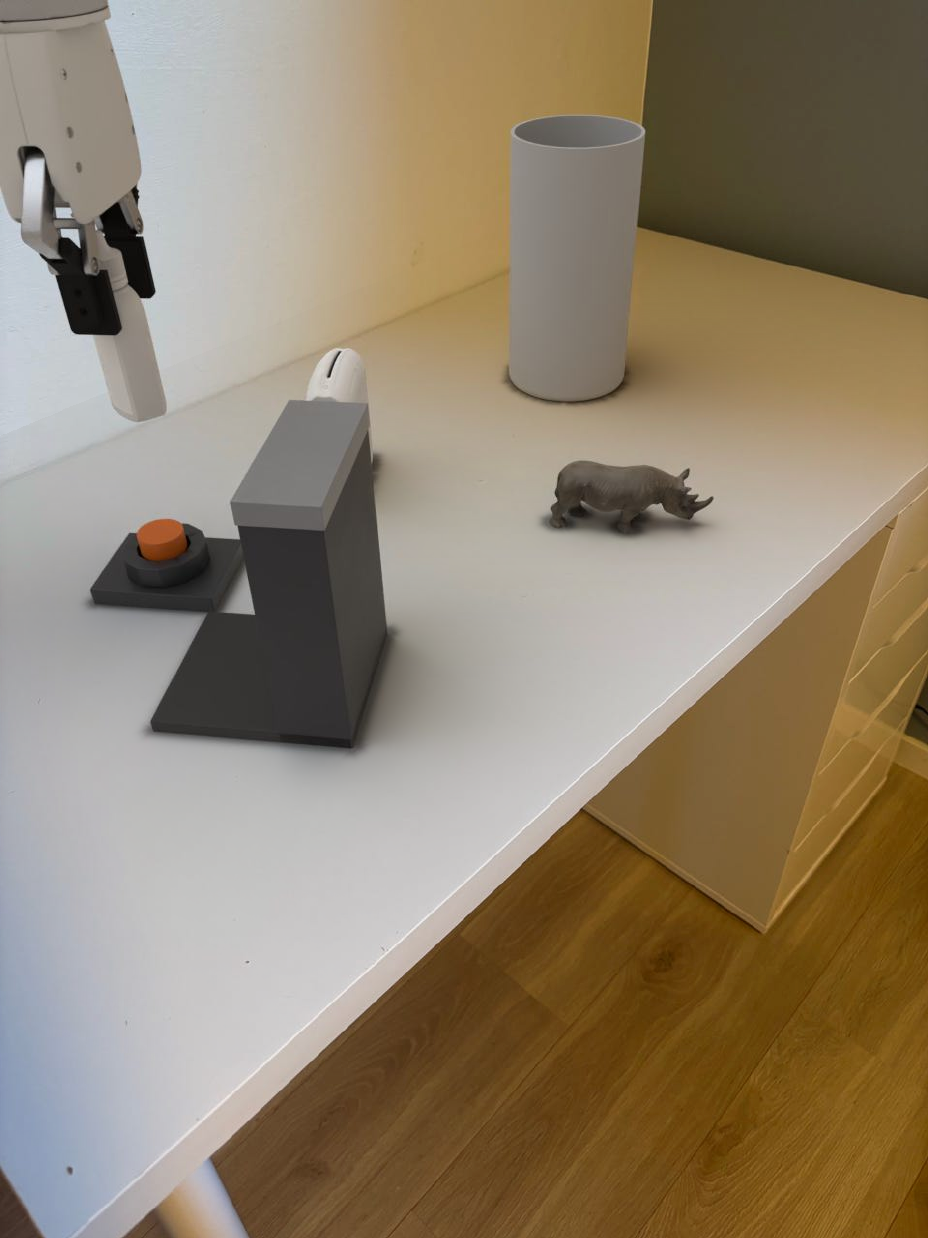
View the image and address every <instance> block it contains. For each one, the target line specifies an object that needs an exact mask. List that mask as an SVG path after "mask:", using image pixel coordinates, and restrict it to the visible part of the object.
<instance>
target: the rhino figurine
mask: <svg viewBox="0 0 928 1238" xmlns="http://www.w3.org/2000/svg"><path fill="white" fill-rule="evenodd" d="M690 472H691V469H690V467H688V468H686V469H684V470H683V471H682V472H681V473H680V474H679V475H678V476H674V475H673V474H670V473H669V472H667V471H665V470H662V469H661V468H658V467H655V466H652V465H647V464H639V465H628V466H619V465H618V466H617V465H610V464H609V465H608V464H603V463H600V462H596V461H592V460H583V459H581V460H575V461H572V462H570V463H568V464H567V465H565V466H564V467H563V468H562V469H561V470H560V471H559V472H558V473H557V477H556V487H555V489H554V492H553V493H554V496H555V498H556V502H554V503H553V504H551V505H550V508H549V510H550V511H551V518H549V520H548V524H549V525H550V526H551V527H553V528H554V529H561V528H566V527H568V524H567V520H566V519H565V517H564V516H563V515H564V514H565V513H566V512H567V514H568V515H570V516H575V517H576V516H577V517H582V516H585V515H586V513H587V512H588V511H587V509H586V508H585V507H583V506H582V503H581V502H583V503H585V504H586V505H588V506H589V507H591V508H593V509H594V510H596V511H598V512H602V513H611V512H615V511H621V513H620V515H619V521H618V523H616V528H617V530H618V531H619V532H620V533H621V534H623V535H628V534H633V533H634V532H635V528H633V525H632V524H631V521H635V522H636V521H640V520H642V519H643V518H642V517H643V513H642V512H644V511H645V510H647V509H648V508H649V507H651V506H652V505H656V506H657V505H660V504H661V505H662V507H663V508H662V509H663V510H664V511H665V512H666V513H667V514H669V515H672V516H675V517H678V518H680V519H683V520H687V521H690V520H692V519H693V518H694V515H695V514H696V513H698V512H700V511H701V510H703V509H705V508H706V507H708V506H709V505H711V503H712V502H713V501H714V499H715V498H714V497H715V496H713V495H712V496H710V497H709V498H707V499H705V500H699V501H698V500H697V499H698V498H699V496H700V494H698V493H695V494H688V493H689V492H691V491H692V487H689V486H686V485H685V480H687V479H688V478H689V476H690ZM696 500H697V501H696Z"/></svg>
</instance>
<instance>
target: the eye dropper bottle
mask: <svg viewBox="0 0 928 1238" xmlns="http://www.w3.org/2000/svg"><path fill="white" fill-rule="evenodd" d="M104 236H105V235H104V234H102V231H101V230H97V229H96V238H97V246H98V255H99V263H100V270H108V274H109V278H110V282H111V286H112V290H113V294H114V298H115V302H116V306H117V309H118V313H119V317H120V321H121V325H122V330H121V331H120V332H119V333H118V334H117V335H92V337H93V341H94V345H95V347H96V352H97V355H98V359H99V363H100V367H101V371H102V374H103V377H104V381H105V384H106V388H107V392H108V395H109V399H110V402H111V406H112V407H113V409H114V411H115V412H116V414H118V415H119V416H121V417H122V418H124V419H126V420H127V421H131V422H133V423H142V422H146V421H150V420H153V419H156V418H157V419H158V418H159V417H163V416H165V414H166V413H167V408H168V404H167V398H166V394H165V390H164V386H163V381H162V377H161V372H160V369H159V365H158V360H157V356H156V352H155V348H154V342H153V338H152V336H151V330H150V326H149V322H148V318H147V314H146V310H145V307H144V304H143V303H144V302H143V301H142V298H140V297H139V296H138V294H137V293H136V292H135V291H134V289H133V288H131V287H130V286H129V285H128V284H127V283H128V279H127V275H126V271H125V267H124V263H123V259H122V254H121V252H120V251H119V250H118V249H115V248H111V247H109V246H108V244H107V243H106V240H105V238H104Z"/></svg>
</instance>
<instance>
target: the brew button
mask: <svg viewBox="0 0 928 1238" xmlns="http://www.w3.org/2000/svg"><path fill="white" fill-rule="evenodd" d="M136 533H137V539H138V542H139V546H140V550H141V553H142V555H143V557H144V558H145V559H147V560H150V561H164V560H168V559H172V558H176V557H177V556H179V555H181V554H182V553H184V552H185V551H186V549H187V541H186V537H185V533H184V529H183V526H182V524H181V522H180V521H178V520H176V519H172V518H160V519H155V520H152V521H149V522H146V523H145V524H143V525H142V526H141V527H139V529H138V530H137V532H136Z"/></svg>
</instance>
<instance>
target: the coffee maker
mask: <svg viewBox="0 0 928 1238" xmlns="http://www.w3.org/2000/svg"><path fill="white" fill-rule="evenodd" d="M369 412H370V408H369V409H368V403H350V402H327V401H306V399H305V400H304V399H303V400H301V399H289V400H288V402H287V403H286V405H285V406H284V408H283V410H282V411H281V414H280V415H279V416H278V419H277V420H276V421H275V424H274V426H273V427H272V429H271V430H270V431H269V434H268V436H267V437H266V439H265V441H264V442H263V444H262V446H261V447H260V449H259V451H258V453H257V455H256V456H255V458H254V459H253V461H252V463H251V465H250V467H249V468H248V469H247V472H246V473H245V475H244V477H243V478H242V480H241V481H240V483H239V485H238V487H237V489H236V490H235V492H234V493H233V495H232V497H231V499H230V501H229V504H230V505H229V506H230V510H231V514H232V520H233V524H234V526H236V527H237V531H238V537H239V539H240V542H241V547H242V552H243V557H244V558H243V562H244V566H245V571H246V576H247V582H248V586H249V591H250V597H251V601H252V602H251V603H252V607H253V611H254V614H252V613H251V614H248V613H238V612H237V613H236V612H224V611H223V612H221V611H215V612H206V615H205V617H204V619H203V621H202V623H201V625H200V626H199V629H198V630H197V632H196V634H195V636H194V638H193V640H192V641H191V643H190V645H189V646H188V649H187V651H186V653H185V655H184V656H183V659H182V661H181V662H180V664H179V666H178V667H177V670H176V671H175V674H174V675H173V677H172V679H171V680H170V683H169V685H168V687H167V688H166V690H165V692H164V694H163V696H162V698H161V700H160V702H159V704H158V706H157V707H156V709H155V711H154V713H153V715H152V717H151V718H150V722H149V724H150V726H151V729H152V732H155V733H168V734H177V735H178V734H181V735H190V736H191V735H192V736H200V737H201V736H202V737H203V736H205V737H214V738H225V739H237V740H249V741H261V742H272V743H284V744H294V745H295V744H296V745H308V746H317V747H318V746H319V747H328V748H329V747H330V748H339V749H340V748H342V749H353V748H354V745H355V742H356V738H357V735H358V732H359V729H360V725H361V722H362V719H363V716H364V713H365V710H366V707H367V704H368V703H367V702H368V699H369V697H370V693H371V689H372V686H373V683H374V679H375V677H376V674H377V669H378V667H379V663H380V660H381V656H382V653H383V650H384V645H385V643H386V641H387V636H388V627H387V616H386V615H387V614H386V605H385V604H386V603H385V593H384V584H383V582H384V581H383V573H382V563H381V562H382V561H381V549H380V538H379V531H378V530H379V529H378V528H379V527H378V519H377V518H378V517H377V506H376V497H375V487H374V486H375V485H374V477H373V476H374V475H373V462H372V463H371V452H370V441H369V431H368V429H369V426H370V423H371V418H370V419H369Z"/></svg>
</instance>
